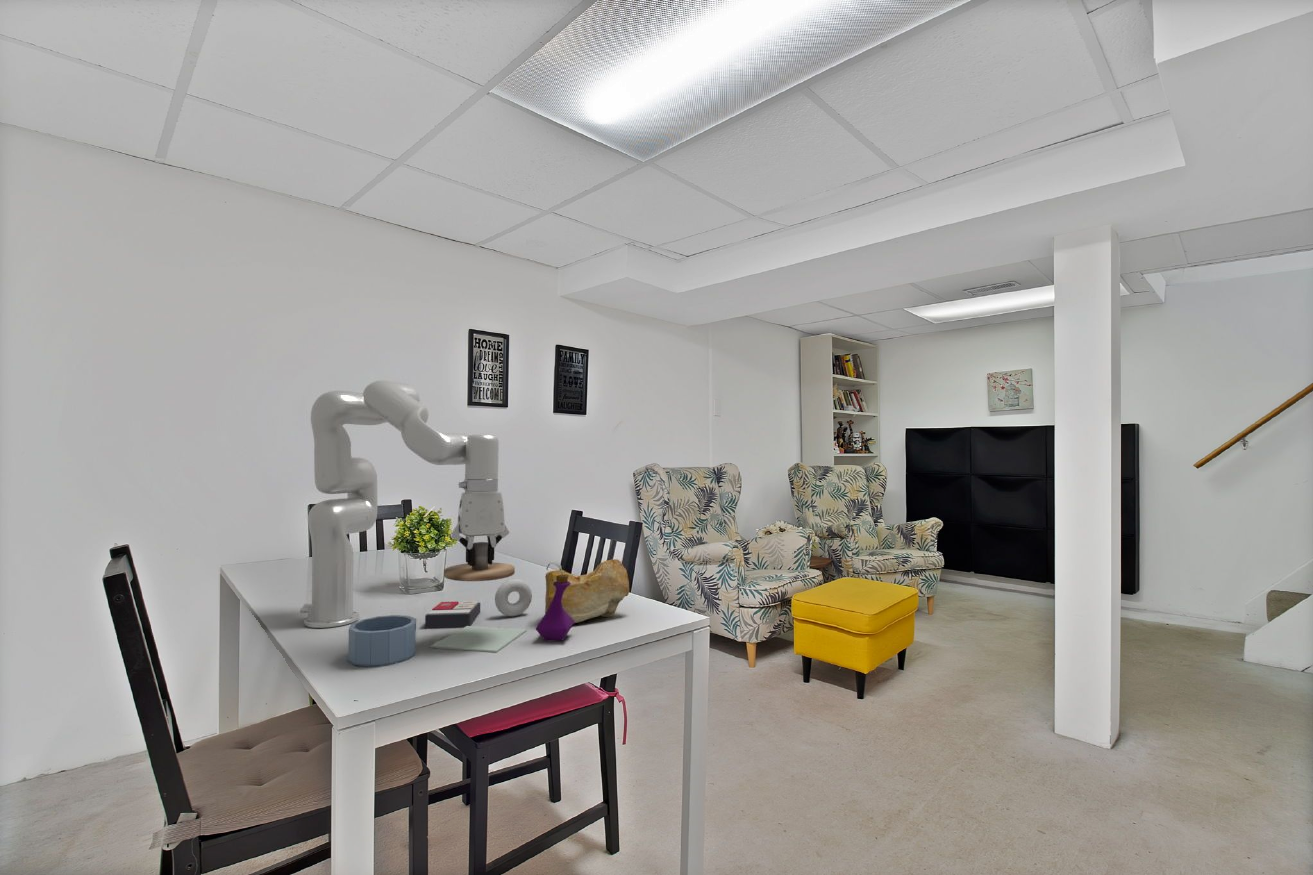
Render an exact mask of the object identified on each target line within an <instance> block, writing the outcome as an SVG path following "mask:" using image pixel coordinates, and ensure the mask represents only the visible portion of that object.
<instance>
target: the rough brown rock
mask: <svg viewBox="0 0 1313 875" xmlns="http://www.w3.org/2000/svg"><path fill="white" fill-rule="evenodd" d="M562 572H563V574H567V575H569V577H568V582H570V586H567V588H566V589H565V591H564V593H563V596H562V607H563V609H564V610H565V611H566V613H567V614H568V615H569V616H570V617H571V618H572V619H573V620H574V623H573V624H577V623H582V622H584V621H586V620H589V619H593V618H597V617H600V616H601V617H603V618H608V617H609V618H610V617H612V616H613V615H615V613H616V611H617V608H618V606H619V604H620V602H622V601H623V600H624V598H626V597H627V596H628V595H629V593H630V581H629V576H628V572H627V569H626V568H625V567H624V565H623V562H622V561H621V560H620V559H617V558H611V559H609V560H604V561H602V562H600V563H599V564H598V565H597V567H595V569H594V570H593V571H591V572H589V573H587V574H582V575H578V576H576V575H574V574H572V573H569V572H567V571H566V570H563V569H562V571H561V569H555V570H550V571H549V570H548V571H547V572H546V573H545V576H544V577H545V608H544V609H545V610H544V613H546V612H547V610H548V608H549V607H550V604H551V602H552V600H553V598H554V595H555V592H556V587H555V586H554V585H553V584H554V582H556V581H557V580H556V577H557V576H558V575H562Z"/></svg>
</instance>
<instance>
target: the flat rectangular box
mask: <svg viewBox="0 0 1313 875" xmlns="http://www.w3.org/2000/svg"><path fill="white" fill-rule="evenodd" d="M480 613H481V602H479V600H469V601H468V600H467V601H466V600H464V601H463V600H462V601H458V600H457V601H441V602H439V603H438V604H437V605H436V606H434V607H432V608H431V610H430V611H429V612H428V613H426V614H425V618H424V621H425V622H424V629H425V630H435V629H440V630H441V629H462V628H464V627H466V626H472V625H473V623H474V621H475V620H476V619H477V618H478V617H479V615H480Z"/></svg>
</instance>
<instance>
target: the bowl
mask: <svg viewBox="0 0 1313 875" xmlns="http://www.w3.org/2000/svg"><path fill="white" fill-rule="evenodd" d="M347 648H348V650H347V651H348V656H347V658H348V661H349V663H350V664H351V665H353V666H356V667H365V668H369V667H370V668H373V667H375V668H376V667H382V666H383V667H384V666H390V665H394V664H398V663H401V662H404V661H407V660H410V659H411V658H413V657H414V656H415V655H416V650H417V618H415V617H413V616H410V615H401V614H400V615H398V614H392V615H381V616H380V615H379V616H374V617H368V618H364V619H360V620H357V621H355V622H352V623H350V625H349V627H348V647H347Z"/></svg>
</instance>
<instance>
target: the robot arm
mask: <svg viewBox="0 0 1313 875" xmlns="http://www.w3.org/2000/svg"><path fill="white" fill-rule="evenodd" d="M428 419H429V410H428V408H427V407H426V405H424V404H423V403H422V402H421V398H420V395H419V393H418V390H416V389H415V388H414V387H413V386H412V385H410V384H407V383H402V382H396V381H392V380H391V381H389V380H375V381H373V382H371V383H369V384H367V385H366V387H365V388H364V390H363V392H356V391H350V390H349V391H348V390H330V391H327V392H324V393H322V394H320V395H319V397H317V399H316V400H315V401H314V403H313V404H312V407H311V412H310V425H311V430H312V433H313V434H312V435H313V444H314V446H313V447H314V448H313V449H314V450H313V455H314V458H313V459H314V462H313V463H314V464H313V466H314V468H313V470H314V485H315V487H316V489H317V491H318V492H320V493H322V494H326V495H338V494H339V495H340V494H347V498H346V497H344V498H342V497H341V498H334V499H326V500H322V501H319V502H318V503H316V504H314V505H313V506H312V508H311V509H309V512H308V515H307V524H308V529H309V535H310V540H311V603H304V604H303V605H302V607H300V609H299V611H300V613H303V614H307V617H306V618H305V619H304V620H303V622H304V626H306V627H308V628H315V629H316V628H317V629H323V628H327V629H328V628H334V627H340V626H346V625H349V624H353V623H355V622H358V621H359V619H360V613H359V612H357V611H354V561H355V560H354V549H353V545H352V543H351V541H350V540H349V538H348V536H347V535H351V534H355V533H361V532H366V531H368V530H370V529H372V528H373V527H374V525H375V523H376V521H377V517H378V475H377V470H376V469H375V466H374V465H373V463H372V462H371V461H369V460H368V459H366V458H363V457H352V442H351V438H350V436H349V434H348V433H349V432H347V429H345V428H344V425H359V426H376V425H377V426H379V425H382V424H386V423H388V424H389V425H391V426H393V427H394V428H395V429H397V431H399V432H400V435H401V438H402V440H403V442H404V444H405V446H406V447H407V448H408V449H409V450H410V451H411V452H413V453H414V454H416V455H417V456H418V457H419V458H421V459H422V460H424V461H426V462H427V463H429V464H432V465H435V466H449V465H454V466H456V465H458V466H459V465H464V466H465V467H464V468H465V469H464V470H465V471H464V479H463V481H461V482H458V488H459V489H463V490H464V492H462V493H461V496H460V500H459V507H458V513H457V514H458V515H457V525H456V526H455V527H454V529H453V531H452V532H451V534H450V538H452V539H454V540H456V541H457V542H459V543H460V544H461V545H462V546H463V547H464V548H465V562H466V563H468V565H469V566H474V563H475V550H474V549H473V543H474V541H475V537H481V536H482V537H483V536H486V538H487V539H486V540H487V541H486V542H487V543H488V564H489V565H491V564H492V562H493V561H495V548H496V547H497V545H498V544H499V543H500V542H501V540H502V539H503V538H505V537H506V536H508V535H509V534H510V531H509V529H508V528H507V526H506V524H505V510H504V509H505V508H504V500H503V499H504V498H503V495H502V492H501V491H498V490H499V489H498V488H499V451H500V450H499V443H500V442H499V438H498V437H497V436H496V435H492V434H466V433H454V432H440V431H438V430H436V429H435V428H433V427H432V426H430V425H429V424H427V422H428ZM461 535H463V536H461Z"/></svg>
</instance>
